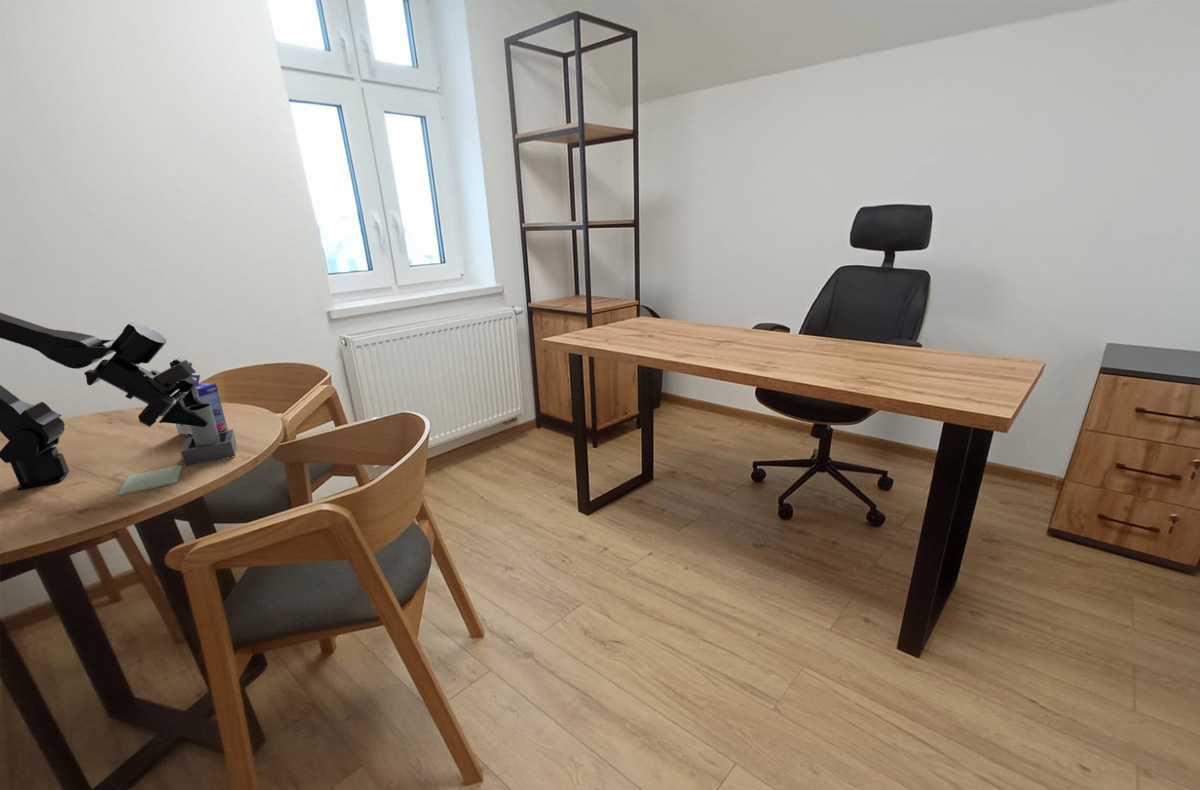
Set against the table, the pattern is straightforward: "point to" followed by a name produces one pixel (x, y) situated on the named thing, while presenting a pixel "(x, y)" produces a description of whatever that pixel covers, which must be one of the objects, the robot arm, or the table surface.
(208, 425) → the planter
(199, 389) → the ink cartridge box
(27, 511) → the table surface
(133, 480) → the mat
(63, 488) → the table surface
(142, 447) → the table surface
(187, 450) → the collar
